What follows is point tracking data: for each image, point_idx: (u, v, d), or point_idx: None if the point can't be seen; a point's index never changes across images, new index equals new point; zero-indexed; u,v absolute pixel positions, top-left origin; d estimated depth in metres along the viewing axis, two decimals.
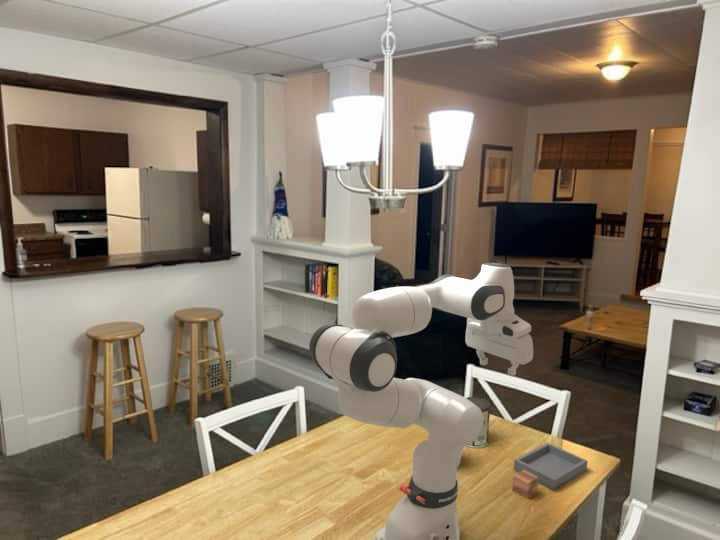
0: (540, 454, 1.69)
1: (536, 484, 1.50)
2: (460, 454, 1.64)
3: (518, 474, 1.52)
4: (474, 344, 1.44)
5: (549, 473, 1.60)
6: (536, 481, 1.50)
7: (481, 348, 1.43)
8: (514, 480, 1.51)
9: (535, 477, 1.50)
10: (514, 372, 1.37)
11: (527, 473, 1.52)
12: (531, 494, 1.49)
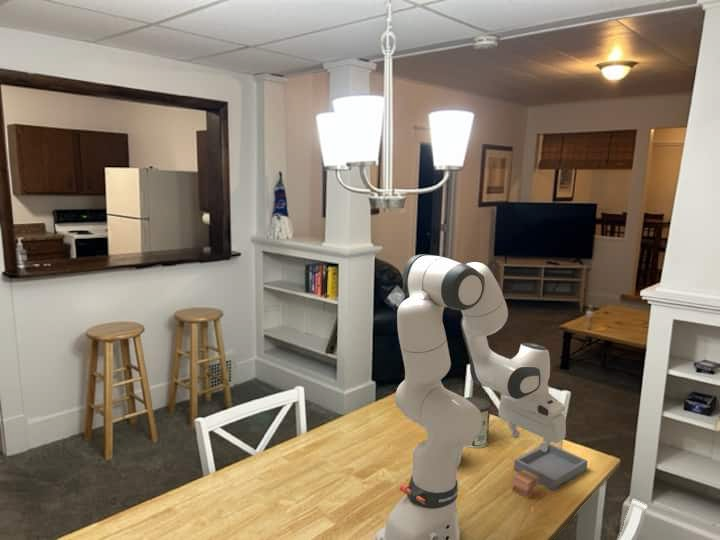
0: (540, 454, 1.69)
1: (536, 484, 1.50)
2: (460, 454, 1.64)
3: (518, 474, 1.52)
4: (507, 418, 1.52)
5: (549, 473, 1.60)
6: (536, 481, 1.50)
7: (514, 422, 1.50)
8: (514, 480, 1.51)
9: (535, 477, 1.50)
10: (546, 448, 1.45)
11: (527, 473, 1.52)
12: (531, 494, 1.49)
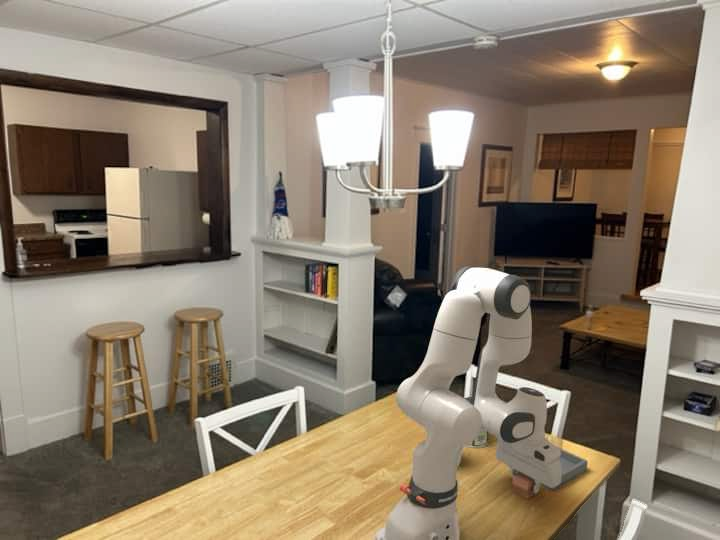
0: None
1: None
2: (460, 454, 1.64)
3: (518, 474, 1.52)
4: (504, 460, 1.54)
5: None
6: None
7: (511, 464, 1.52)
8: (514, 480, 1.51)
9: None
10: (537, 490, 1.48)
11: None
12: (531, 494, 1.49)
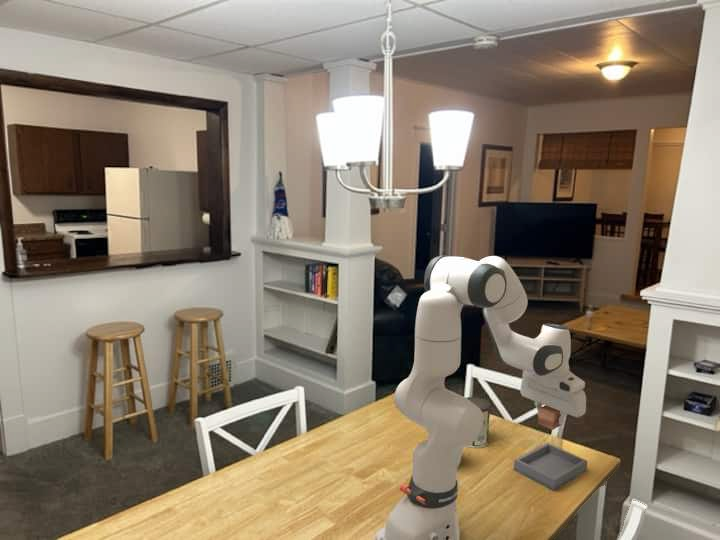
0: (540, 454, 1.69)
1: None
2: (460, 454, 1.64)
3: (543, 407, 1.57)
4: (529, 395, 1.60)
5: (549, 473, 1.60)
6: None
7: (536, 399, 1.58)
8: (540, 413, 1.57)
9: None
10: (562, 421, 1.54)
11: None
12: (556, 425, 1.55)
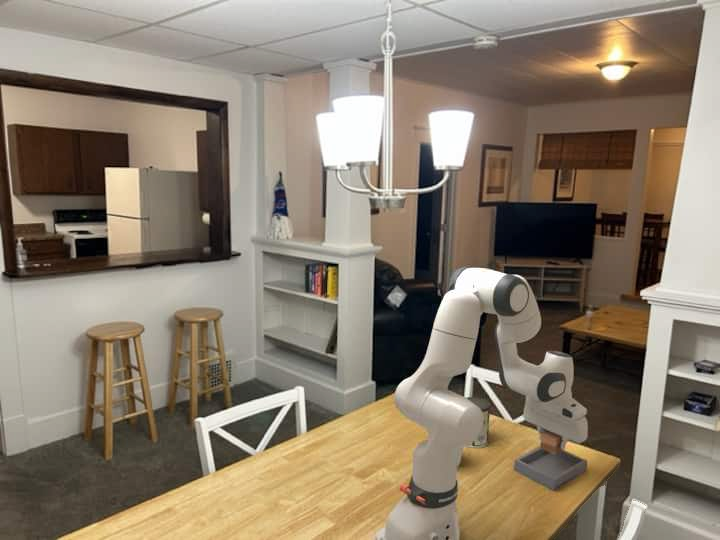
0: (540, 454, 1.69)
1: None
2: (460, 454, 1.64)
3: (546, 432, 1.62)
4: (532, 420, 1.64)
5: (549, 473, 1.60)
6: None
7: (538, 424, 1.62)
8: (542, 438, 1.61)
9: None
10: (564, 446, 1.58)
11: None
12: (558, 450, 1.59)
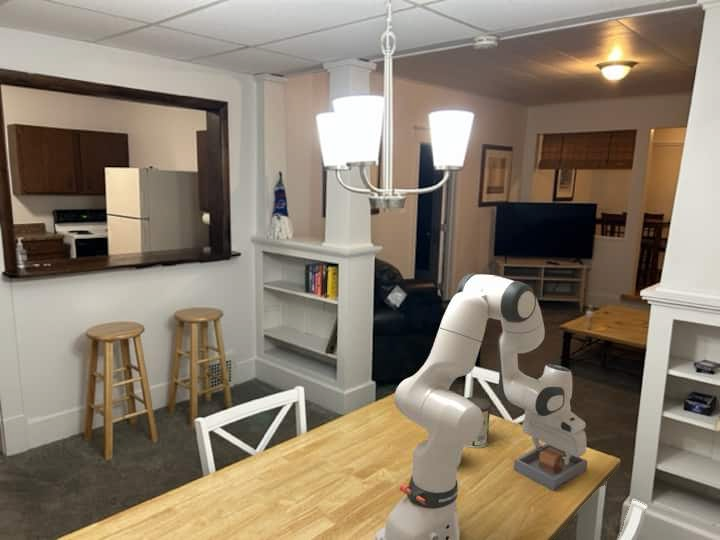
0: None
1: (561, 460, 1.61)
2: (460, 454, 1.64)
3: (544, 451, 1.63)
4: (531, 433, 1.65)
5: (549, 473, 1.60)
6: (561, 457, 1.61)
7: (537, 437, 1.63)
8: (541, 457, 1.62)
9: (560, 453, 1.61)
10: (567, 462, 1.58)
11: (552, 450, 1.63)
12: (557, 469, 1.60)
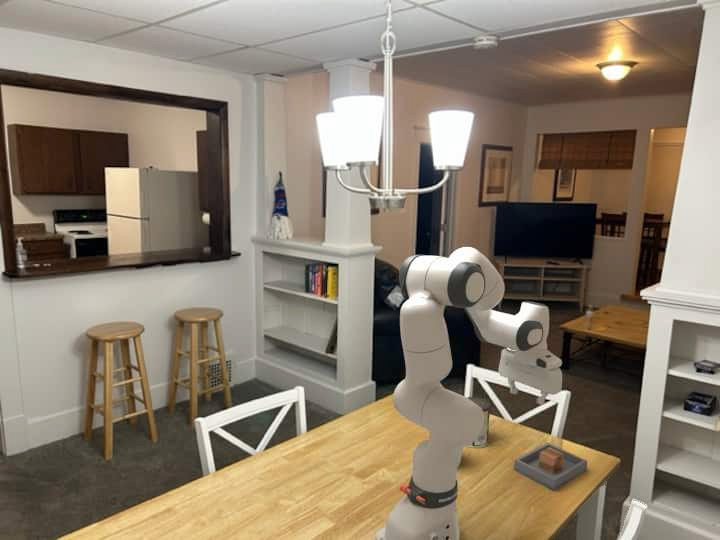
0: None
1: (561, 460, 1.61)
2: (460, 454, 1.64)
3: (544, 451, 1.63)
4: (507, 374, 1.60)
5: (549, 473, 1.60)
6: (561, 457, 1.61)
7: (513, 378, 1.59)
8: (541, 457, 1.62)
9: (560, 453, 1.61)
10: (542, 402, 1.53)
11: (552, 450, 1.63)
12: (557, 469, 1.60)
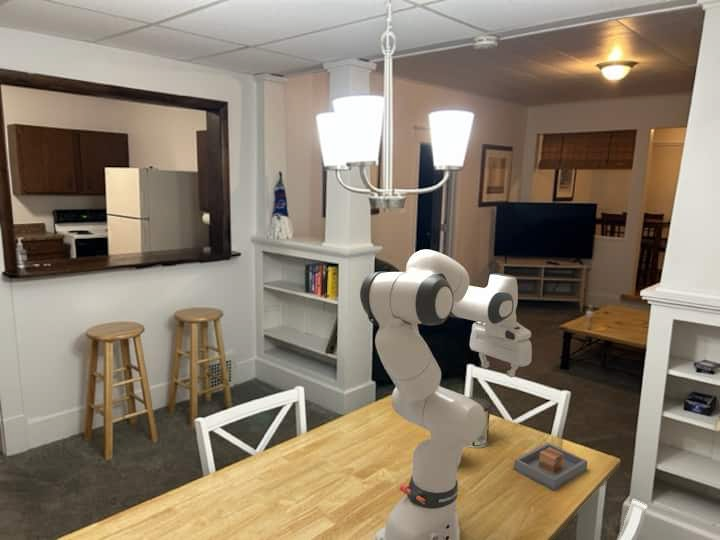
0: None
1: (561, 460, 1.61)
2: (460, 454, 1.64)
3: (544, 451, 1.63)
4: (477, 348, 1.58)
5: (549, 473, 1.60)
6: (561, 457, 1.61)
7: (484, 351, 1.56)
8: (541, 457, 1.62)
9: (560, 453, 1.61)
10: (513, 374, 1.51)
11: (552, 450, 1.63)
12: (557, 469, 1.60)
